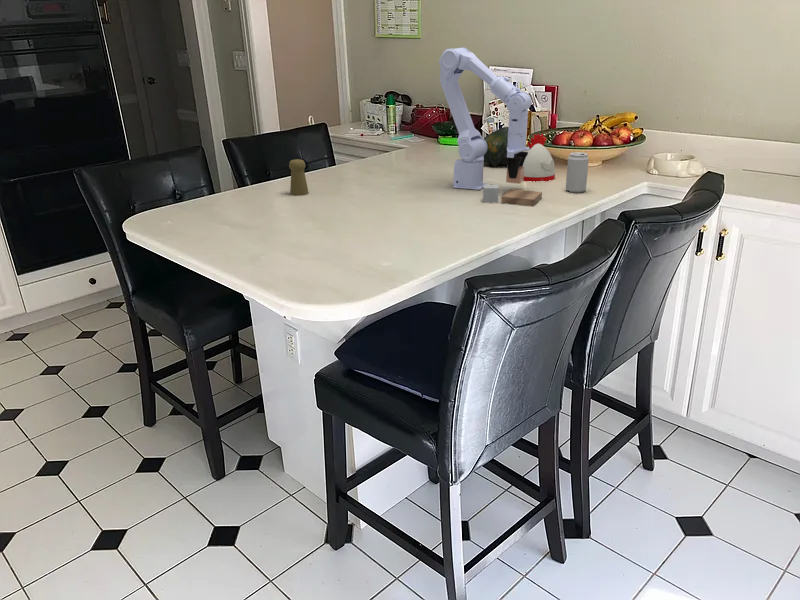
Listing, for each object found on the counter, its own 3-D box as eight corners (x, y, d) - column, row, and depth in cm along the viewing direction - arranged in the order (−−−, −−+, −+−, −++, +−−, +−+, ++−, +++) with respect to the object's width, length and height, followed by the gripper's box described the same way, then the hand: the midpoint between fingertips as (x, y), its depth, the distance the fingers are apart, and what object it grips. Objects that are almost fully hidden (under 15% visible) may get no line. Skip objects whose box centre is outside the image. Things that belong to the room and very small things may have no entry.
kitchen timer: (563, 178, 228) (566, 134, 222) (534, 184, 221) (537, 138, 215) (534, 171, 239) (536, 129, 233) (506, 177, 232) (508, 133, 226)
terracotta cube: (506, 182, 209) (506, 168, 207) (509, 179, 212) (510, 165, 211) (519, 183, 207) (520, 169, 205) (523, 180, 211) (524, 166, 209)
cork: (312, 192, 216) (309, 158, 211) (302, 196, 211) (299, 162, 206) (296, 190, 218) (294, 157, 214) (286, 194, 213) (283, 160, 209)
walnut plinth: (501, 203, 199) (501, 196, 198) (510, 195, 207) (510, 189, 206) (533, 206, 195) (534, 199, 194) (541, 198, 203) (541, 191, 202)
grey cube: (482, 202, 200) (483, 188, 198) (483, 198, 204) (483, 184, 202) (497, 202, 199) (498, 188, 198) (498, 199, 203) (498, 184, 202)
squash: (466, 150, 250) (490, 122, 240) (488, 146, 260) (511, 119, 250) (488, 178, 247) (513, 151, 237) (509, 173, 257) (534, 147, 247)
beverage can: (586, 193, 207) (590, 155, 203) (565, 193, 209) (568, 155, 204) (585, 189, 213) (588, 151, 208) (565, 188, 214) (568, 151, 210)
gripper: (524, 137, 196) (521, 182, 202) (535, 130, 208) (532, 172, 214) (501, 136, 199) (499, 180, 204) (514, 129, 211) (511, 171, 216)
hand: (514, 176), depth 209 cm, fingers closed on terracotta cube, 4 cm apart
